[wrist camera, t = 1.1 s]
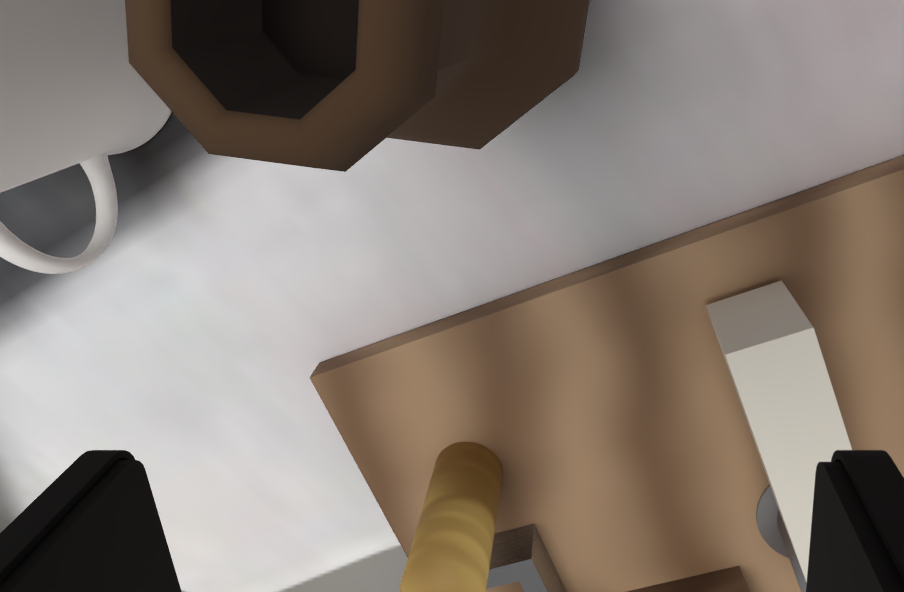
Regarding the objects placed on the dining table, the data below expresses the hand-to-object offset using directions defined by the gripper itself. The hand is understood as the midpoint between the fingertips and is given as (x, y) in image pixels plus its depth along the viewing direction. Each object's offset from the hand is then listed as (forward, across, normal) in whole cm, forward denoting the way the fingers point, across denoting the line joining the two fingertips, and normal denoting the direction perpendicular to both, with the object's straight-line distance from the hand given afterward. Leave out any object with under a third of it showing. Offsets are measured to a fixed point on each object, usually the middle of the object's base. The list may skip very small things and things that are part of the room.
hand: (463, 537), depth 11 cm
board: (+23, -5, +14) cm, 28 cm away
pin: (+22, +4, +14) cm, 26 cm away
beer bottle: (+24, +2, -7) cm, 25 cm away
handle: (+22, -10, +12) cm, 26 cm away
